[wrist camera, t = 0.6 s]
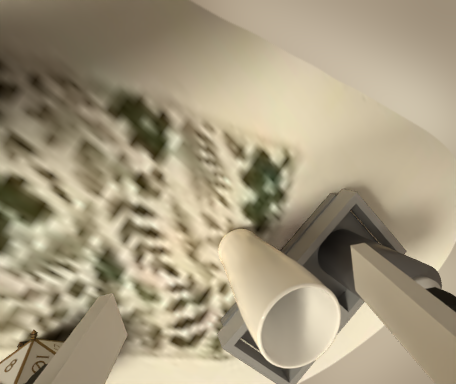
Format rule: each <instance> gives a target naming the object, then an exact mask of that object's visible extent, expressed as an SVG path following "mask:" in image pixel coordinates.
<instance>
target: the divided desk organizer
mask: <svg viewBox="0 0 456 384" xmlns="http://www.w3.org/2000/svg"><path fill="white" fill-rule="evenodd" d="M350 210H352V211H353V212H354V214H355V215H356V216H357V217H358V218H359V219H360V220H361V221H362V223H363V224H364V225H365V226H366V227H367V228H368V229H369V231H370V232H371V233H372V234H373V235H374V236H375V237H376V238H377V240H378V241H379V242H380V243H381V244H382V245H381V244H379V243H378V242H377V241H376V240H375V239H374V238H373V237H372V235H371V234H370V233H369V232H368V231H367V230H366V229H365V228H364V226H363V225H362V224H361V223H360V222H359V221H358V220H357V218H356V217H355V216H354V215H353V214H352V213H351V212H350ZM361 243H366V244H367V245H368V246H370V247H371V248H372V249H374V250H375V251H376V252H377V253H379V254H380V255H381V256H383V257H384V258H385V259H387V260H388V261H389V262H391V263H392V264H393V265H394V266H396V267H397V268H398V269H400V270H401V271H402V272H404V273H405V274H406V275H408V276H409V277H410V278H411V279H413V280H414V281H415V282H417V283H418V284H419V285H421V286H422V287H423V288H425V289H427V288H432V287H436V288H439V289H441V288H442V284H441V278H440V276H439V273H438V272H437V271H436V270H435V269H434V268H433V267H431V266H429V265H427V264H424V263H422V262H420V261H418V260H415V259H413V258H411V257H408V256H406V255H404V254H405V253H406V250H405V249H404V248H403V246H402V245H401V244H400V243H399V242H398V240H397V239H396V238H395V237H394V236H393V234H392V233H391V232H390V231H389V230H388V229H387V227H386V226H385V225H384V224H383V223H382V221H381V220H380V219H379V218H378V217H377V215H376V214H375V213H374V212H373V211H372V210H371V208H370V207H369V206H368V205H367V204H366V202H365V201H364V200H363V199H362V198H361V196H360V195H359V194H358V193H357V192H355V191H350V190H346V189H342V190H341V191H340V192H339V194H338V195H337V196H336V195H335V194H331V193H330V194H329V196H328V197H327V198H326V199H325V200H324V201H323V203H322V204H321V205H320V206H319V207H318V208H317V209H316V211H315V212H314V213H313V214H312V215H311V216H310V218H309V219H308V220H307V221H306V222H305V223H304V224H303V226H302V227H301V228H300V229H299V230H298V231H297V233H296V234H295V235H294V236H293V237H292V238H291V239H290V241H289V242H288V243H287V244H286V245H285V246H284V247H283V249H282V250H281V252H282V253H284V254H285V255H287V256H289V257H290V258H292V259H293V260H295V261H296V262H298V263H299V264H301V265H302V266H303V267H305V268H306V269H307V270H308V271H310V272H311V273H312V274H313V275H314V276H316V277H317V278H318V279H319V280H320V281H321V282H322V283H323V284H324V285H325V286H326V287H327V288H328V289H330V290H331V291H332V292H333V293H334V295H335V296H336V298H337V300H338V302H339V305H340V309H341V322H340V327H339V330H338V333H339V332H340V331H341V329H342V328H343V327H344V326H345V325H346V323H347V322H348V321H349V320H350V319H351V317H352V316H353V315H354V314H355V313H356V311H357V310H358V309H359V308H360V307H361V305H362V304H363V303H364V302H365V301H364V300H363V299H362V298H361V296H360V295H359V294H358V293H357V292H356V291H355V282H354V273H353V265H352V256H351V247H350V246H351V245H356V244H361ZM221 322H222V324H223V325H224V326H223V328H222V329H221V330H220V331H219V332H218V333H217V334H218V337H219V340H220V343H221V346H222V348H223V349H224V350H226V351H227V352H229V353H230V354H232V355H233V356H235V357H236V358H238V359H239V360H241V361H242V362H244V363H245V364H247V365H249V366H250V367H252V368H253V369H255V370H256V371H258V372H259V373H261V374H262V375H264V376H265V377H267V378H268V379H270V380H271V381H273V382H275V383H276V384H296V383H297V382H298V381H299V380H300V379H301V377H302V376H303V375H304V374H305V373H306V371H307V370H308V369H309V368H310V367H311V365H312V364H313V363H314V362H315V361H316V360H315V361H313V362H311V363H309V364H307V365H305V366H302V367H298V368H281V367H277V366H275V365H273V364H271V363H270V362H269V361H267V360H266V359H265V358H264V356H263V355H262V354H261V353H259V352H258V351H256V350H255V349H253V348H252V347H250V346H249V345H248V344H246V343H245V342H243V341H242V340H240V338H242V339H244V340H245V341H247V342H248V343H249V344H251V345H252V346H254V347H255V348H257V349H258V350H259V348H258V346H257V345H256V343H255V341H254V340H253V338H252V336H251V334H250V332H249V330H248V329H247V327H246V324H245V322H244V320H243V318H242V316H241V313H240V311H239V308H238V306H237V303H235V304H234V305H233V306H232V307H231V309H230V310H229V311H228V312H227V313H226V314H225V316H224V317H223V318H222V319H221ZM338 333H337V334H338Z"/></svg>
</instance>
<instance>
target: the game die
mask: <svg viewBox="0 0 456 384" xmlns="http://www.w3.org/2000/svg"><path fill="white" fill-rule="evenodd" d="M37 333H38V332H36V331H35V330H33V332H32V333H31V340H30V341H29V342H27V343H26V344H24V343H21V342H20V343H19V345H18V346H17V347H18V350H16V351H15V352H13V353H12V354H11V355H9V356H8V357H6V358H5V359H4V360H2V361H1V362H0V384H25V383H26V382H27V381H28V380H29V378H30V377H31V376H32V375H33V374H34V373H35V372H37V371H38V370H39V369H40V368H41V367H42V366H43V365H44V364H48V363H49V362H50V361H51V359H52V358H53V357H54V355H55V354H56V353H57V351H58V350H59V349H60V347H61V346H62V345H63V344H64V342H63V341H54V340H46V339H37V338H36V336H37Z"/></svg>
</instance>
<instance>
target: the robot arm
mask: <svg viewBox="0 0 456 384" xmlns="http://www.w3.org/2000/svg"><path fill="white" fill-rule="evenodd" d="M350 247H351V256H352V265H353V273H354V282H355V291H356V292H357V293H358V294H359V295H360V296H361V298H362V299H363V300H364V301H365V302H366V303H367V305H368V306H369V307H370V308H371V309H372V311H373V312H374V313H375V314H376V315H377V316H378V318H379V319H380V320H381V321H382V322H383V323H384V325H385V326H386V327H387V328H388V329H389V330H390V332H391V333H392V334H393V335H394V336H395V338H396V339H397V340H398V341H399V342H400V343H401V345H402V346H403V347H404V348H405V349H406V350H407V352H408V353H409V354H410V355H411V356H412V357H413V359H414V360H415V361H416V362H417V363H418V365H419V366H420V367H421V368H422V369H423V371H424V372H425V373H426V374H427V375H428V376H429V378H430V379H431V380H432V381H433V382H434V383H435V384H456V297H455V296H454V295H452V294H451V293H448V292H446V291H444V290H441V289H439V288H436V287H432V288H427V289H425V288H423V287H422V286H421V285H419V284H418V283H417V282H415V281H414V280H413V279H411V278H410V277H409V276H408V275H406V274H405V273H404V272H402V271H401V270H400V269H398V268H397V267H396V266H394V265H393V264H392V263H391V262H389V261H388V260H387V259H385V258H384V257H383V256H381V255H380V254H379V253H377V252H376V251H375V250H374V249H372V248H371V247H370V246H368V245H367V244H366V243H361V244H356V245H351V246H350ZM126 338H127V332H126V329H125V327H124V324H123V321H122V318H121V315H120V312H119V309H118V307H117V304H116V301H115V298H114V295H113V293H112V294H108V295H103V296H99V297H98V299H97V300H96V301H95V303H94V304H93V305H92V307H91V308H90V309H89V311H88V312H87V313H86V314H85V316H84V317H83V318H82V320H81V321H80V322H79V324H78V325H77V326H76V328H75V329H74V330H73V332H72V333H71V334H70V336H69V337H68V338H67V340H66V341H65V342H64V344H63V345H62V346H61V347H60V349H59V350H58V351H57V353H56V354H55V355H54V357H53V358H52V359H51V361H50V362H49V363H48V364H44V365H43V366H42V367H41V368H40V369H39V370H38V371H37V372H35V373H34V374H33V375H32V376H31V377H30V378H29V380H28V381H27V382H26V383H25V384H105V382H106V380H107V378H108V376H109V374H110V372H111V369H112V367H113V365H114V363H115V361H116V359H117V357H118V355H119V352H120V350H121V348H122V346H123V344H124V342H125V340H126Z"/></svg>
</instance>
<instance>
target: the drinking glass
mask: <svg viewBox="0 0 456 384" xmlns="http://www.w3.org/2000/svg"><path fill="white" fill-rule="evenodd" d="M218 254H219V258H220V261H221V263H222V265H223V267H224V269H225V272H226V275H227V277H228V280H229V283H230V286H231V289H232V292H233V294H234V297H235V300H236V303H237V306H238V308H239V311H240V313H241V316H242V318H243V320H244V322H245V324H246V327H247V329H248V330H249V332H250V334H251V336H252V338H253V340H254V341H255V343H256V345H257V346H258V348H259V350H260V352H261V353H262V355H263V356H264V358H265V359H266V360H267V361H269V362H270V363H271V364H273V365H275V366H277V367H281V368H298V367H302V366H305V365H307V364H309V363H311V362H313V361H315V360H316V359H318V358H319V357H320V356H321V355H322V354H324V353H325V352H326V350H327V349H328V348H329V347H330V346H331V344H332V343H333V341H334V339H335V337H336V335H337V333H338V330H339V327H340V322H341V309H340V305H339V302H338V300H337V298H336V296H335V295H334V293H333V292H332V291H331V290H330V289H328V288H327V287H326V286H325V285H324V284H323V283H322V282H321V281H320V280H319V279H318V278H317V277H316V276H314V275H313V274H312V273H311V272H310V271H308V270H307V269H306V268H305V267H303V266H302V265H301V264H299V263H298V262H296V261H295V260H293V259H292V258H290V257H289V256H287V255H285V254H284V253H282V252H281V251H279V250H277V249H276V248H274V247H273V246H271V245H270V244H268V243H266V242H265V241H263V240H262V239H260V238H259V237H257V236H256V235H255V234H254V233H253V232H251V231H249V230H246V229H236V230H233V231H230V232H229V233H227V234H226V235H225V236H224V237H223V239H222V240H221V242H220V245H219V249H218Z"/></svg>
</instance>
